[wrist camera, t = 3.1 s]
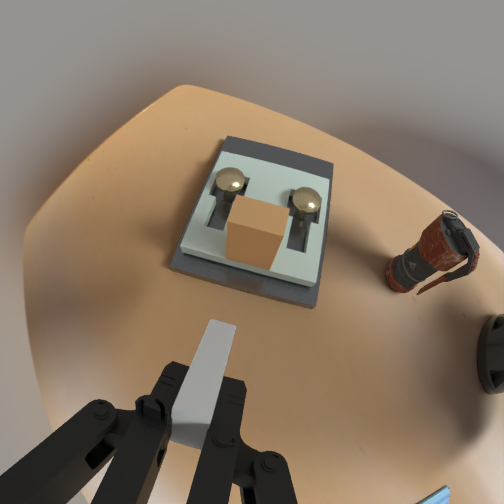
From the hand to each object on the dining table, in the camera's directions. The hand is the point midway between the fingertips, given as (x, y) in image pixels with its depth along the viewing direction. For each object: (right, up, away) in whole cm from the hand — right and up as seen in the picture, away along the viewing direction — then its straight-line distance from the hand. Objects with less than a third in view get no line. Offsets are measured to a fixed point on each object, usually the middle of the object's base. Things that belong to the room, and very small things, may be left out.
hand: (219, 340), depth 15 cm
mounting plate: (+3, +11, +23) cm, 26 cm away
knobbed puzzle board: (+3, +10, +20) cm, 23 cm away
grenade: (+23, +1, +21) cm, 31 cm away
